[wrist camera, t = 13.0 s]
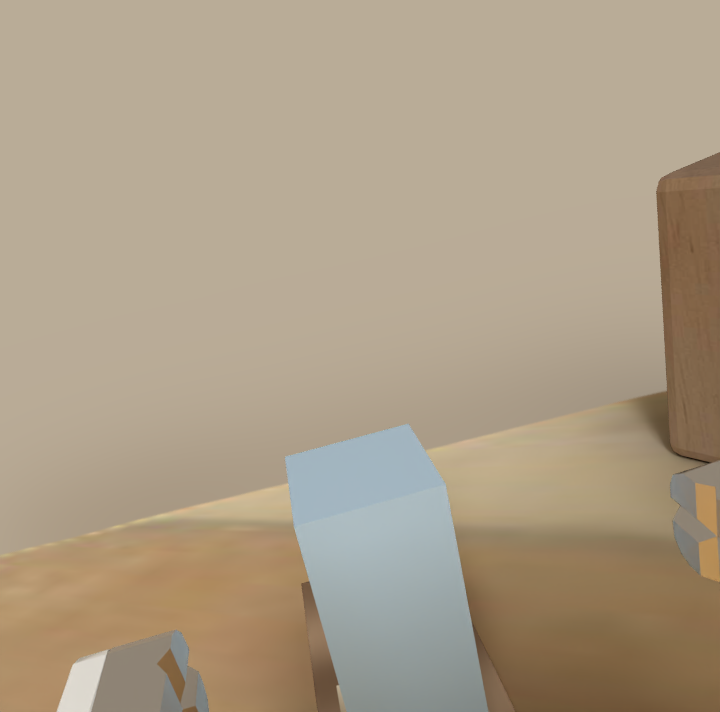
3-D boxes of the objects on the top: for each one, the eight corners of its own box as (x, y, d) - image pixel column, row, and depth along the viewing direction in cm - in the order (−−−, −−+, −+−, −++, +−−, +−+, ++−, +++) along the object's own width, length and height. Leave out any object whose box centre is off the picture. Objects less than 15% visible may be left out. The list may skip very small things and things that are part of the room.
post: (496, 754, 24) (445, 484, 20) (370, 795, 24) (294, 526, 20) (455, 658, 29) (408, 423, 25) (349, 691, 29) (285, 456, 25)
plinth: (571, 865, 23) (562, 805, 22) (358, 939, 22) (338, 880, 21) (443, 586, 38) (434, 543, 37) (313, 625, 37) (300, 582, 36)
